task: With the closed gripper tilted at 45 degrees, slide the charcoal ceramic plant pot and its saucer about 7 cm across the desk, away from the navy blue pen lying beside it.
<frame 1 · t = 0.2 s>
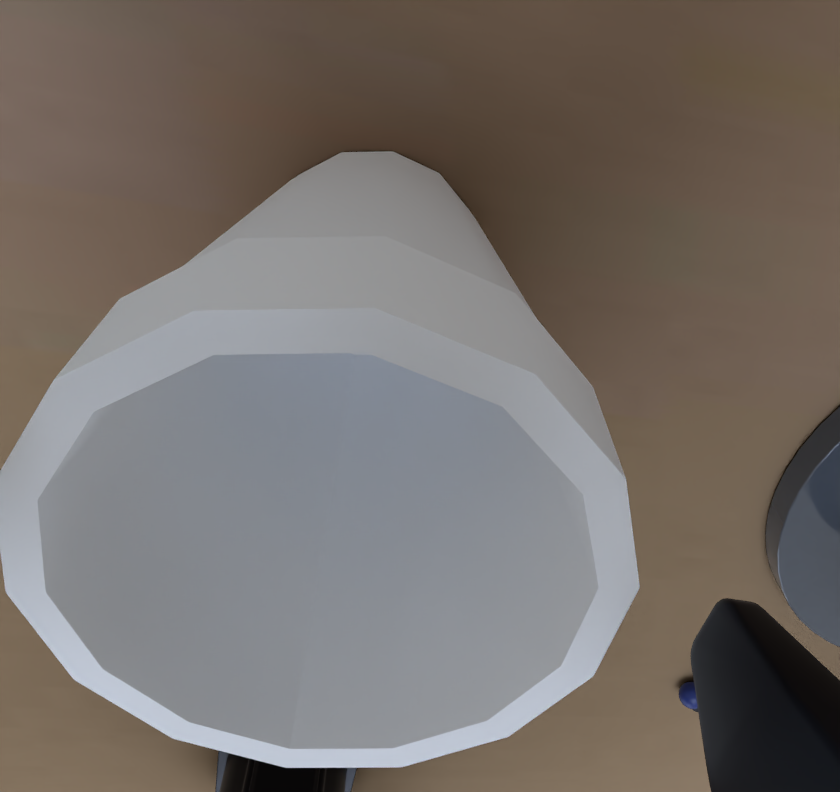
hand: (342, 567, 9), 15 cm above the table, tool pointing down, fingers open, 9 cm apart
foam cup: (373, 255, 22), on the table
pen: (821, 702, 33), on the table, tilted 5°
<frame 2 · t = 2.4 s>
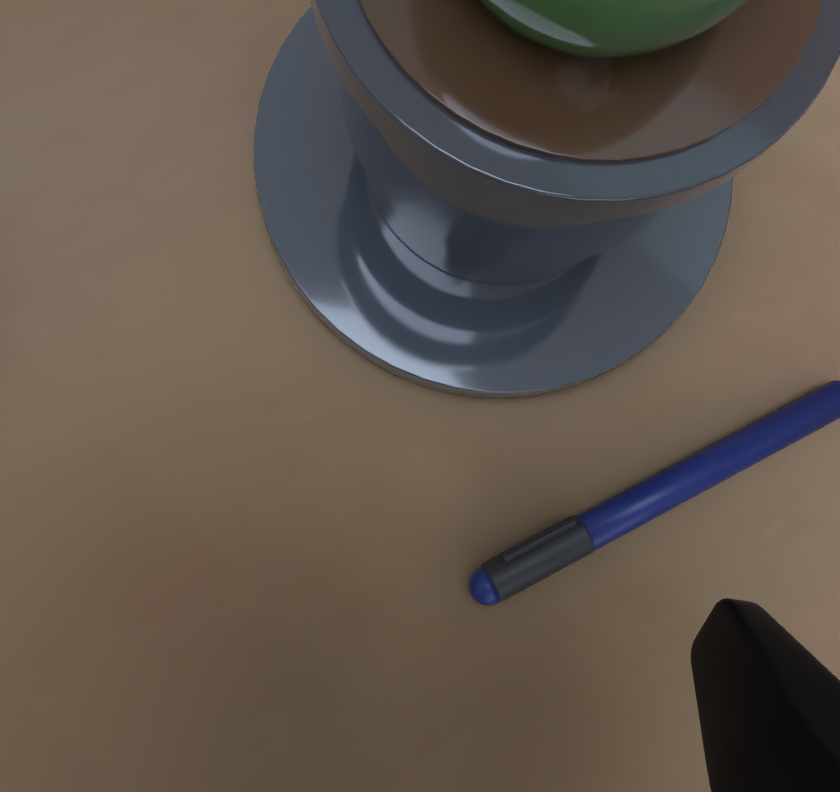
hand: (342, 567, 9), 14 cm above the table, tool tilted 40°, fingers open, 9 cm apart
plant pot: (492, 169, 24), on the table
pen: (670, 500, 23), on the table, tilted 48°
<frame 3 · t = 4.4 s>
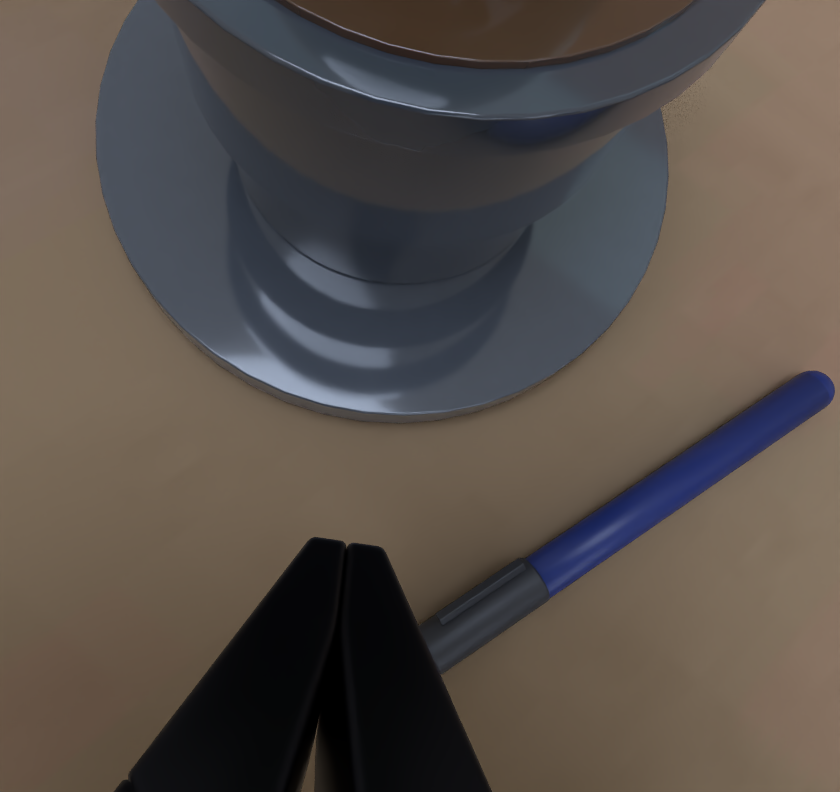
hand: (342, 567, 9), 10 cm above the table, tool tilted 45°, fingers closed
plant pot: (392, 156, 21), on the table
pen: (634, 528, 19), on the table, tilted 48°
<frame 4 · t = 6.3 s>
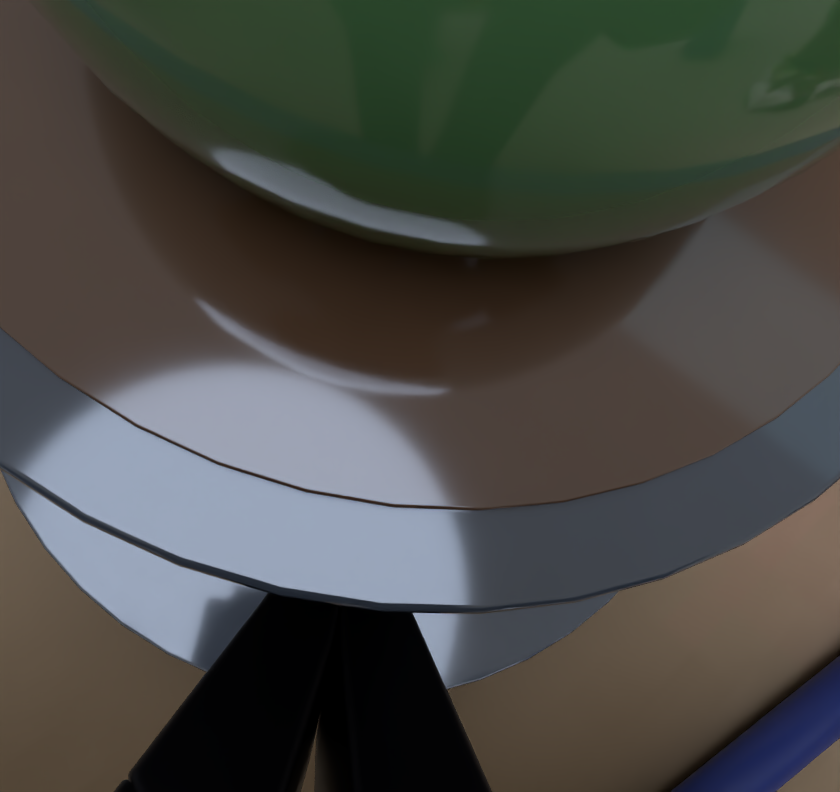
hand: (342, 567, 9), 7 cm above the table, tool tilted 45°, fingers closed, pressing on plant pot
plant pot: (365, 326, 16), on the table, touching gripper
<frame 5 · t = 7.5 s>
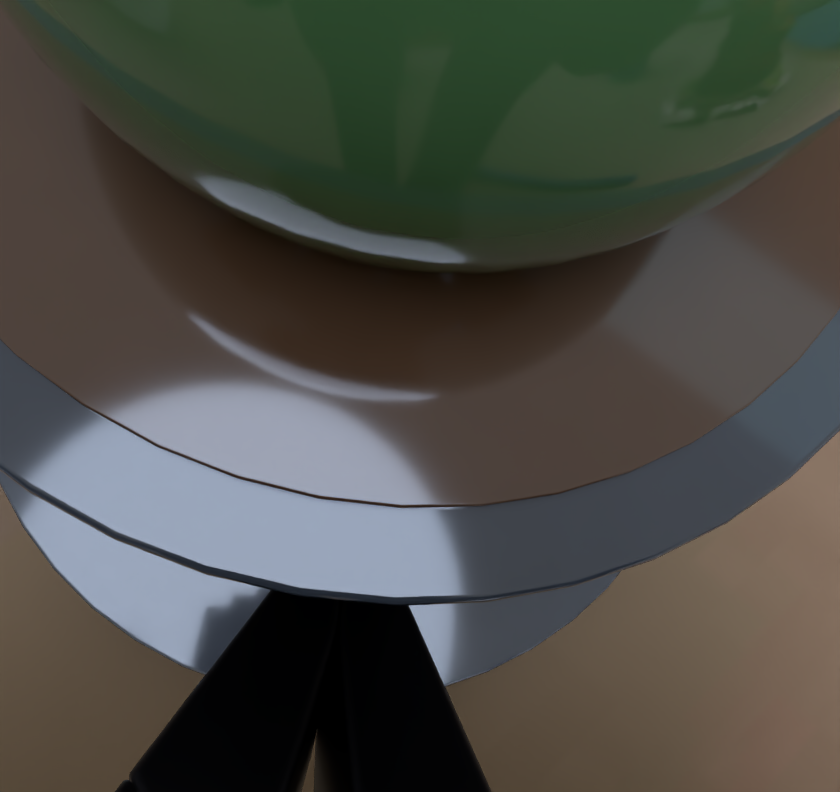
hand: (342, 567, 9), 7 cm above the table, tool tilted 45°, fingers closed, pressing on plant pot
plant pot: (355, 335, 17), on the table, touching gripper
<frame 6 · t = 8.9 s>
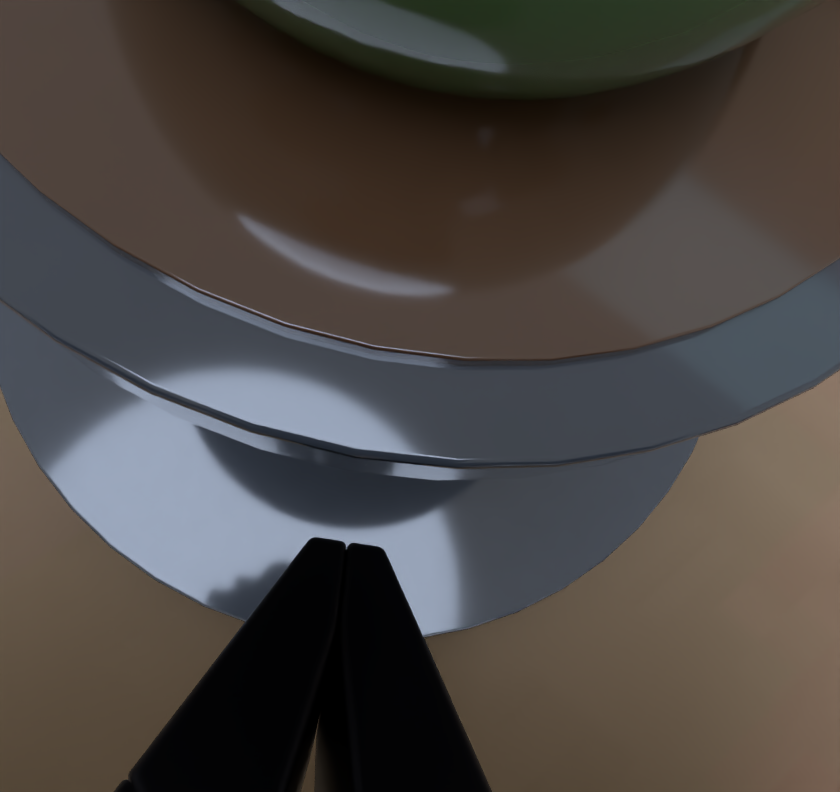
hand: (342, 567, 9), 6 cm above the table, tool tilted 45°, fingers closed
plant pot: (375, 273, 16), on the table
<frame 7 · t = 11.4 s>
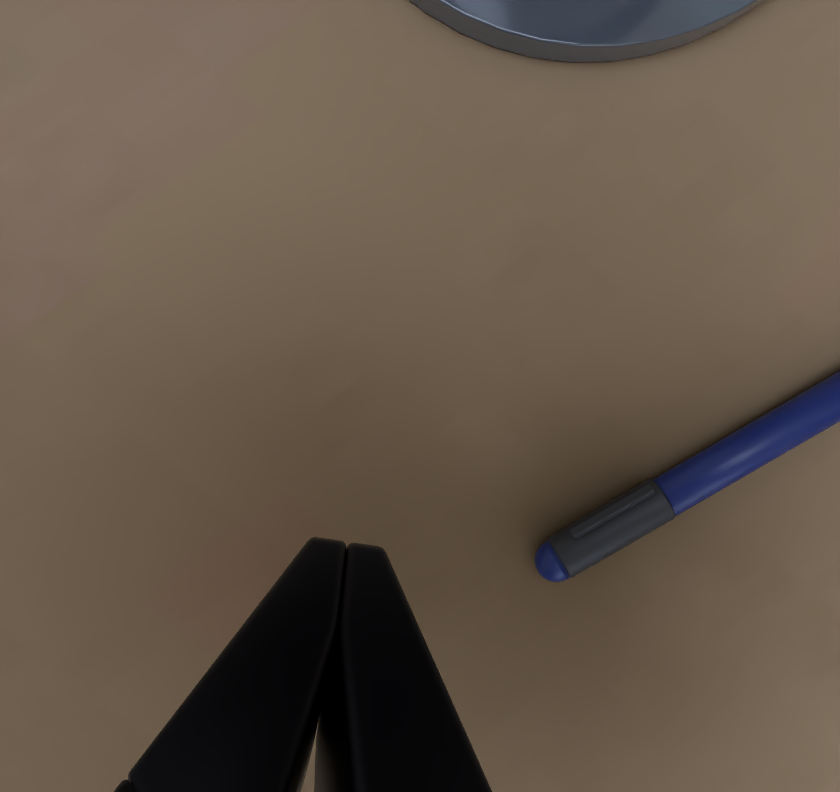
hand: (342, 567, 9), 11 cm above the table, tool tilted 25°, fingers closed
pen: (762, 451, 20), on the table, tilted 48°
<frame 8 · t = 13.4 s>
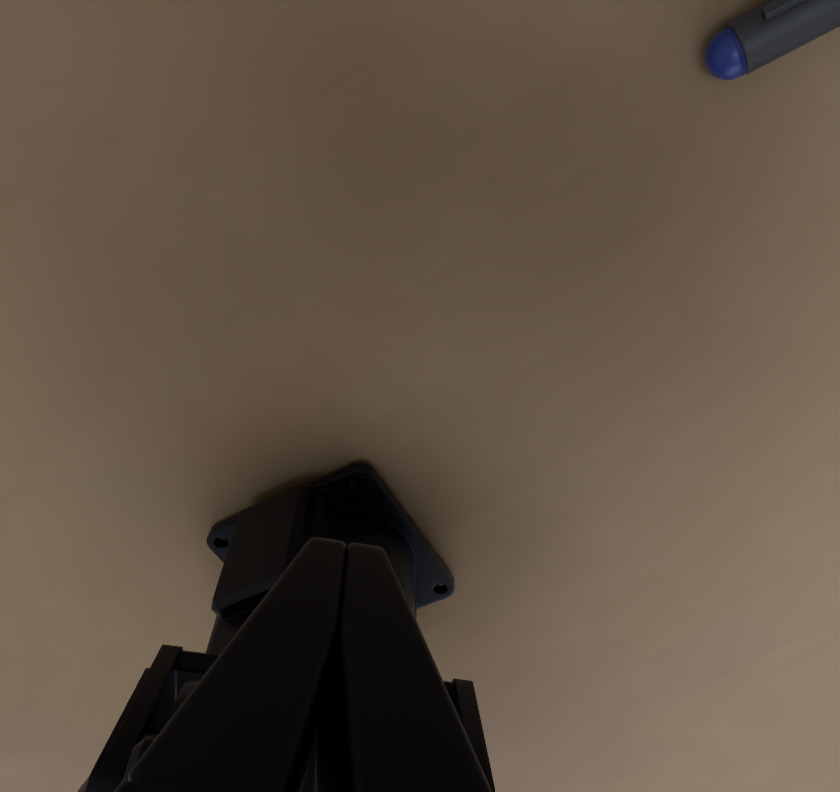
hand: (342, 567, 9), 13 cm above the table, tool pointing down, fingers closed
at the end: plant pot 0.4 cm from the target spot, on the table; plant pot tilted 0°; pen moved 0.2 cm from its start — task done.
